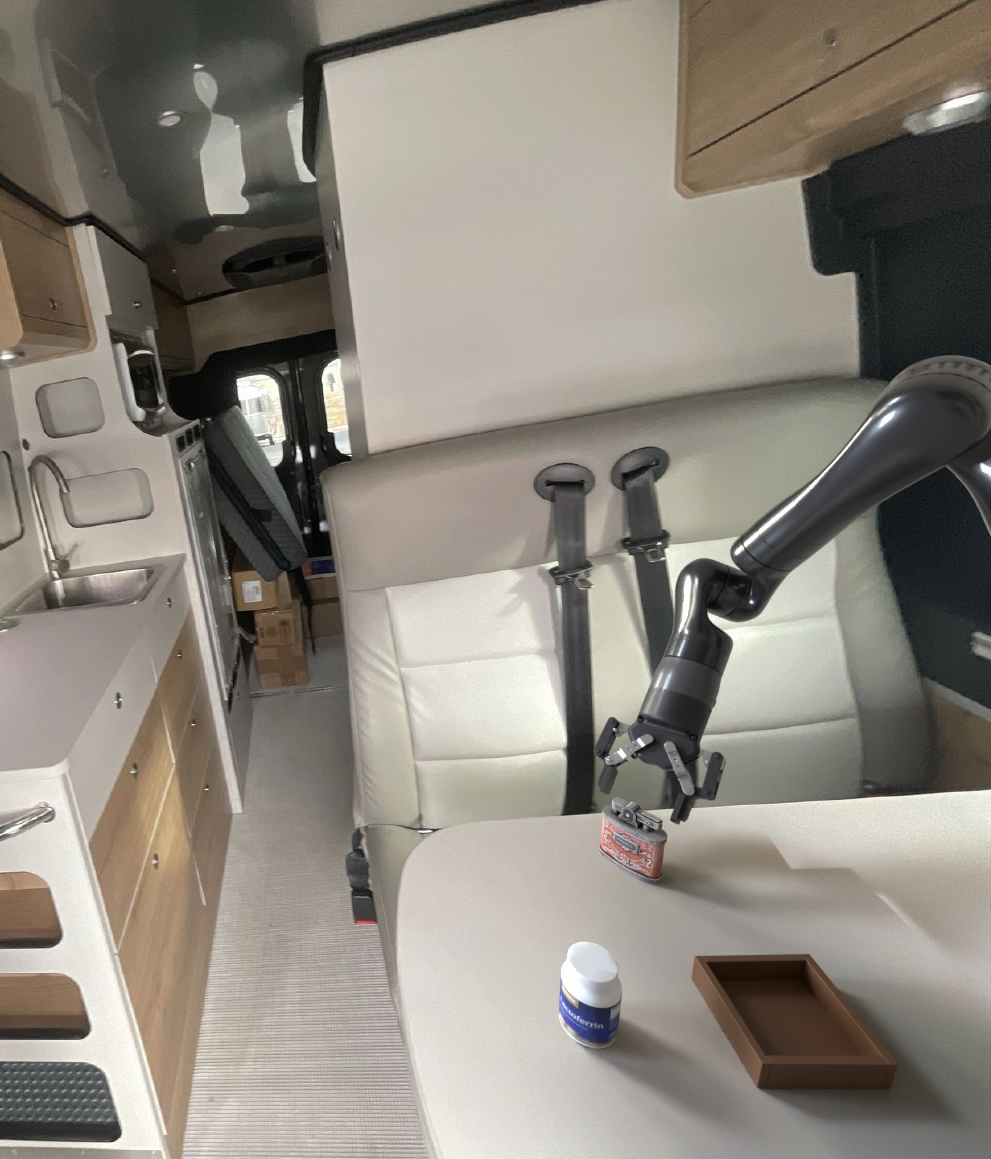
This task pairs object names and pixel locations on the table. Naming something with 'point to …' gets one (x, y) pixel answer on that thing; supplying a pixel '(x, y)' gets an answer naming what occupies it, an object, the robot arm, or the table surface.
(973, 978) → the table surface
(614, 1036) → the pill bottle
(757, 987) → the tray
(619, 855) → the lighter
